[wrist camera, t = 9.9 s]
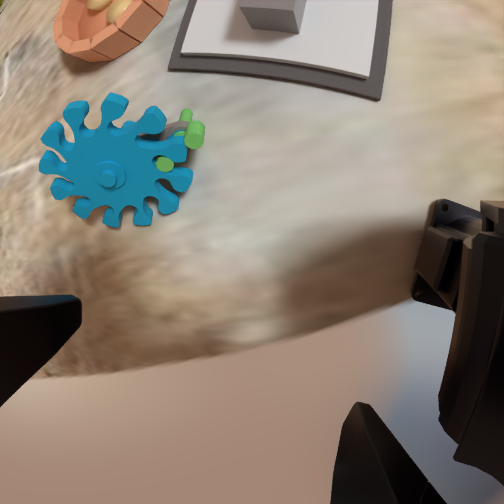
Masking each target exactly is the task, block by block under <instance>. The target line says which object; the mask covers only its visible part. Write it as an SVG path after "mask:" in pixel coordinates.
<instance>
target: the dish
mask: <svg viewBox="0 0 504 504" xmlns="http://www.w3.org/2000/svg"><path fill="white" fill-rule="evenodd" d="M169 1H170V0H63V2H62V4H61V6H60V9H59V11H58V13H57V16H56V18H55V22H54V40H55V44H57V45H58V46H59V47H60V48H61V49H62V50H63V51H65V52H66V53H67V54H70V55H73V56H76V57H78V58H81V59H84V60H86V61H89V62H99V61H109V60H113V59H116V58H118V57H119V56H121V55H122V54H124V53H126V52H127V51H129V50H131V49H132V48H134V47H136V46H137V45H139V44H140V42H143V40H144V39H145V38H146V37H147V36H148V34H149V33H150V32H151V31H152V30H153V29H154V27H155V26H156V25H157V24H158V23H159V22H160V21H161V20H162V19H163V18H162V17H161V16H164V15H165V12H166V9H167V7H168V4H169Z"/></svg>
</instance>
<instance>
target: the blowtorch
mask: <svg viewBox="0 0 504 504" xmlns="http://www.w3.org/2000/svg"><path fill="white" fill-rule="evenodd" d="M8 1H9V0H0V13H1V12H2V10H3V9H4V7H5V6H6V4H7V3H8Z"/></svg>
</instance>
